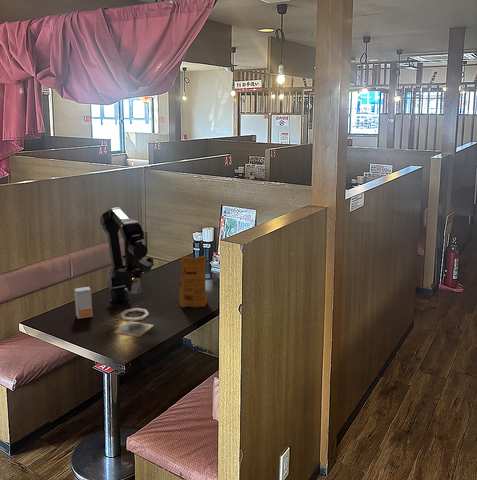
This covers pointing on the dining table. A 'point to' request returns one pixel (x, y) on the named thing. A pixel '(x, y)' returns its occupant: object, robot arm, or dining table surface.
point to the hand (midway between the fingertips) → (133, 288)
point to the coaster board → (134, 329)
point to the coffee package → (192, 282)
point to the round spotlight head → (135, 286)
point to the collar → (136, 317)
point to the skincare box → (83, 302)
